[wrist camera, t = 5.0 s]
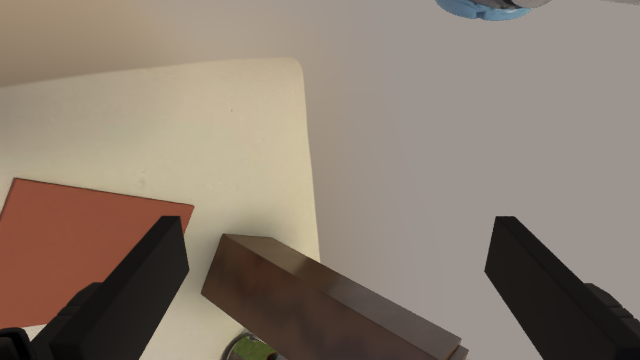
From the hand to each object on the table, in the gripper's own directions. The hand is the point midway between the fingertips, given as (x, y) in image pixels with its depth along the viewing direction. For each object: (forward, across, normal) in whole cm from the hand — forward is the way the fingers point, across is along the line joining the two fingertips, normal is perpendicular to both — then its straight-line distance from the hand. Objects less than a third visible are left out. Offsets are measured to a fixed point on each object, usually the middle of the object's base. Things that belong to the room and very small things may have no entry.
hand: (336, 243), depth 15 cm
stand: (+28, -12, -21) cm, 37 cm away
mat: (+14, -21, -10) cm, 27 cm away
